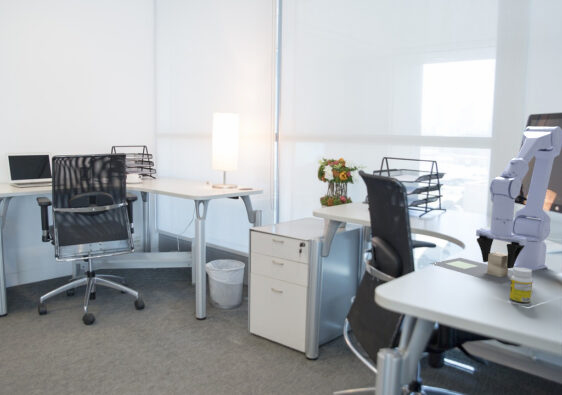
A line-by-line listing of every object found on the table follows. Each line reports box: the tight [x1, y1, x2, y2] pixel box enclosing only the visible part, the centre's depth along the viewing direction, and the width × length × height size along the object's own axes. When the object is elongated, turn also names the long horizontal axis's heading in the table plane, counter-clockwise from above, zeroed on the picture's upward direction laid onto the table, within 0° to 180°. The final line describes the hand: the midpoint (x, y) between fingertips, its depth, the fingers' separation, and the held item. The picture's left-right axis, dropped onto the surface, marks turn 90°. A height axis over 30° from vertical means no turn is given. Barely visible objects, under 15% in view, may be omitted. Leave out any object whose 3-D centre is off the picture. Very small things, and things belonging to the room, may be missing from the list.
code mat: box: [429, 257, 514, 285], centre depth 149 cm, size 16×24×1 cm, turn 35°
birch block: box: [487, 251, 509, 277], centre depth 143 cm, size 4×4×6 cm
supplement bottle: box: [509, 267, 534, 307], centre depth 119 cm, size 5×5×8 cm
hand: (497, 264), depth 143 cm, fingers open, 7 cm apart
